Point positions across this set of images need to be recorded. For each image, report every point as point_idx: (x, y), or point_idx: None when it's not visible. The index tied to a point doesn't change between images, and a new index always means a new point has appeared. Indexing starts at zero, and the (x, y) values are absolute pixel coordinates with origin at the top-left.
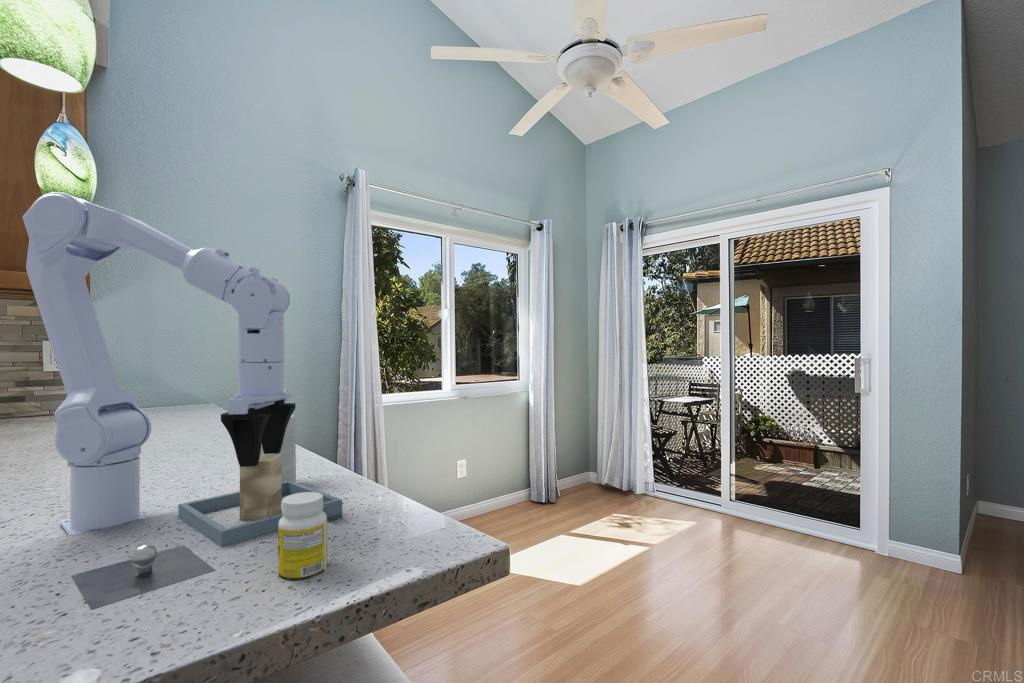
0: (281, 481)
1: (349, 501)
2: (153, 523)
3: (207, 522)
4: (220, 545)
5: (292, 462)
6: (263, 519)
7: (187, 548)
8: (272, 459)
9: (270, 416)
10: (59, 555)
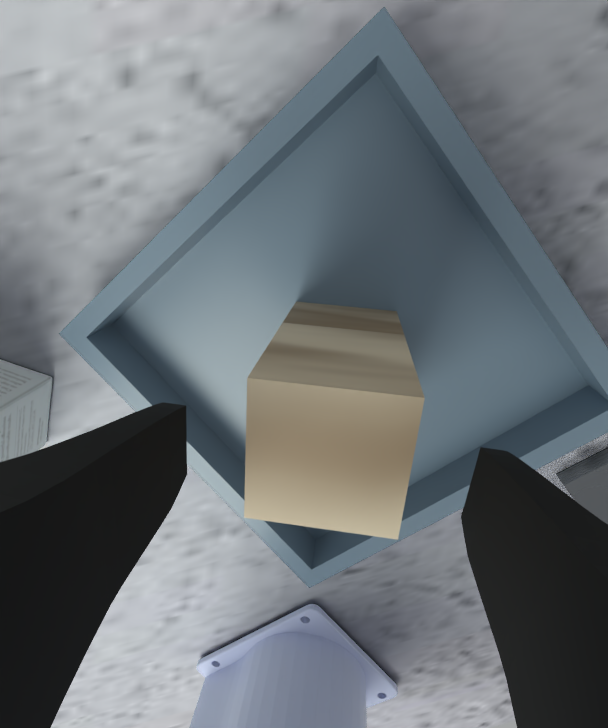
0: (3, 376)
1: (171, 50)
2: (307, 593)
3: None
4: None
5: None
6: (566, 308)
7: (597, 469)
8: (376, 398)
9: (23, 658)
10: (473, 678)
